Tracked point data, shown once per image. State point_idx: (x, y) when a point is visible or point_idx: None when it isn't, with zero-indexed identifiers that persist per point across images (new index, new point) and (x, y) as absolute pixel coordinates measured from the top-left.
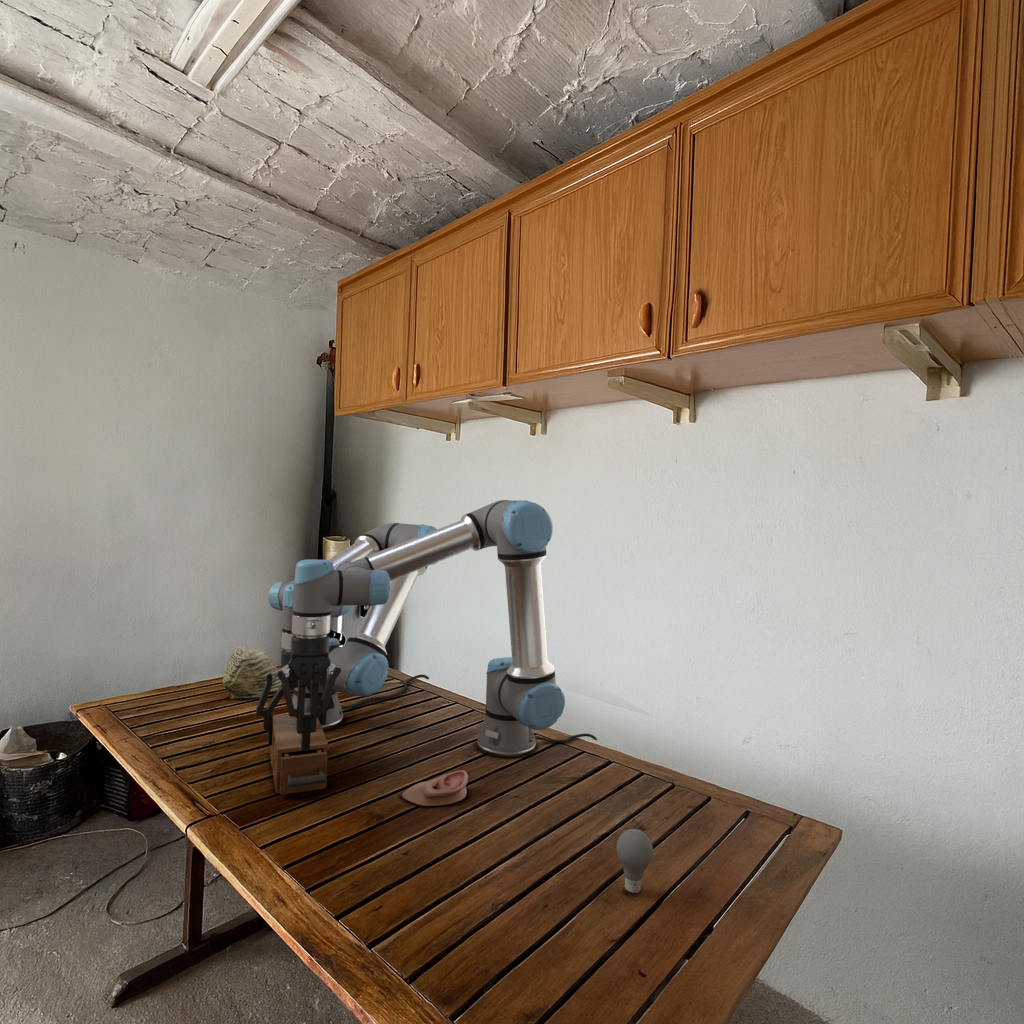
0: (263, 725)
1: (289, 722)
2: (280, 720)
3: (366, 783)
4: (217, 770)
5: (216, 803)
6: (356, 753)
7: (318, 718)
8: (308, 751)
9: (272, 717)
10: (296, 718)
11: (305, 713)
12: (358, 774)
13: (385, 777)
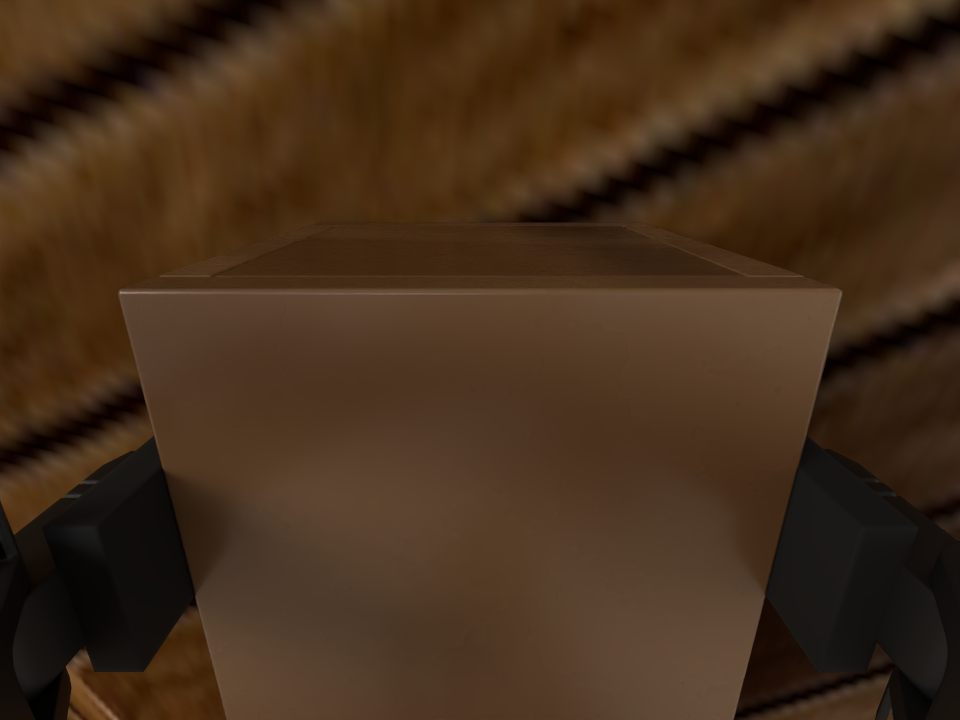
0: (92, 483)
1: (399, 606)
2: (281, 519)
3: (767, 716)
4: (10, 381)
5: (125, 706)
6: (890, 384)
7: (772, 602)
8: None
9: (134, 661)
10: (499, 503)
11: (667, 332)
12: (772, 635)
13: (874, 691)
